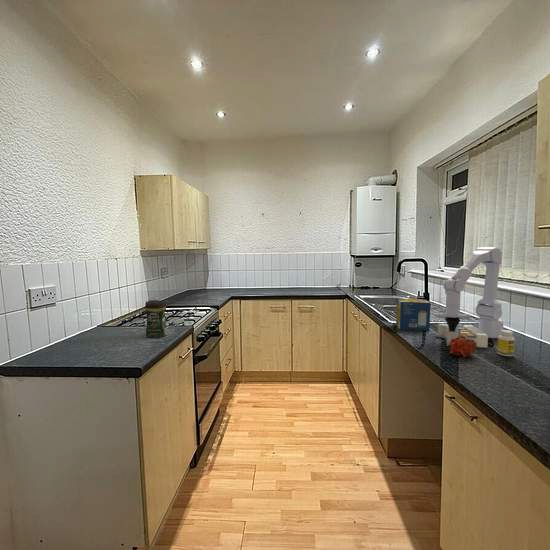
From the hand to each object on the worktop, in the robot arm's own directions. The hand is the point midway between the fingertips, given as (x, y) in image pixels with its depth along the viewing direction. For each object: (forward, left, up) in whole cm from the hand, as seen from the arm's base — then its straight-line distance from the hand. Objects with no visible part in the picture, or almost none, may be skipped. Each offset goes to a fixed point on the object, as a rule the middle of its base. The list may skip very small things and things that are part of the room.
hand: (451, 333), depth 144 cm
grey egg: (+2, +7, -4) cm, 9 cm away
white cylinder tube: (+2, -7, -4) cm, 9 cm away
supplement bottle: (-16, +15, -4) cm, 22 cm away
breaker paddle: (-6, 0, 0) cm, 6 cm away
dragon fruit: (+2, +21, -4) cm, 22 cm away
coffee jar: (+142, +23, -4) cm, 144 cm away
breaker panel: (-9, -2, -4) cm, 10 cm away
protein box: (+13, -22, -4) cm, 26 cm away
